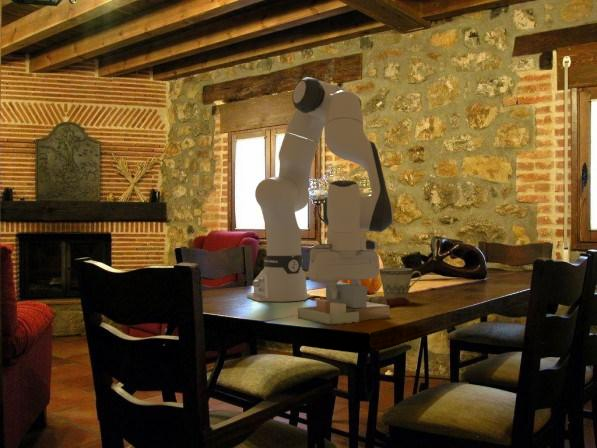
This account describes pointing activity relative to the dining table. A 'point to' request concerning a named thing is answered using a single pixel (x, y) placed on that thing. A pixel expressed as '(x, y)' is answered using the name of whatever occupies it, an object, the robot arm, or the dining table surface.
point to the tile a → (323, 306)
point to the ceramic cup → (396, 281)
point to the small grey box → (349, 295)
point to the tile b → (337, 308)
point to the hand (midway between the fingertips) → (344, 297)
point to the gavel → (388, 301)
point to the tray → (327, 316)
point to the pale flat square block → (371, 311)
